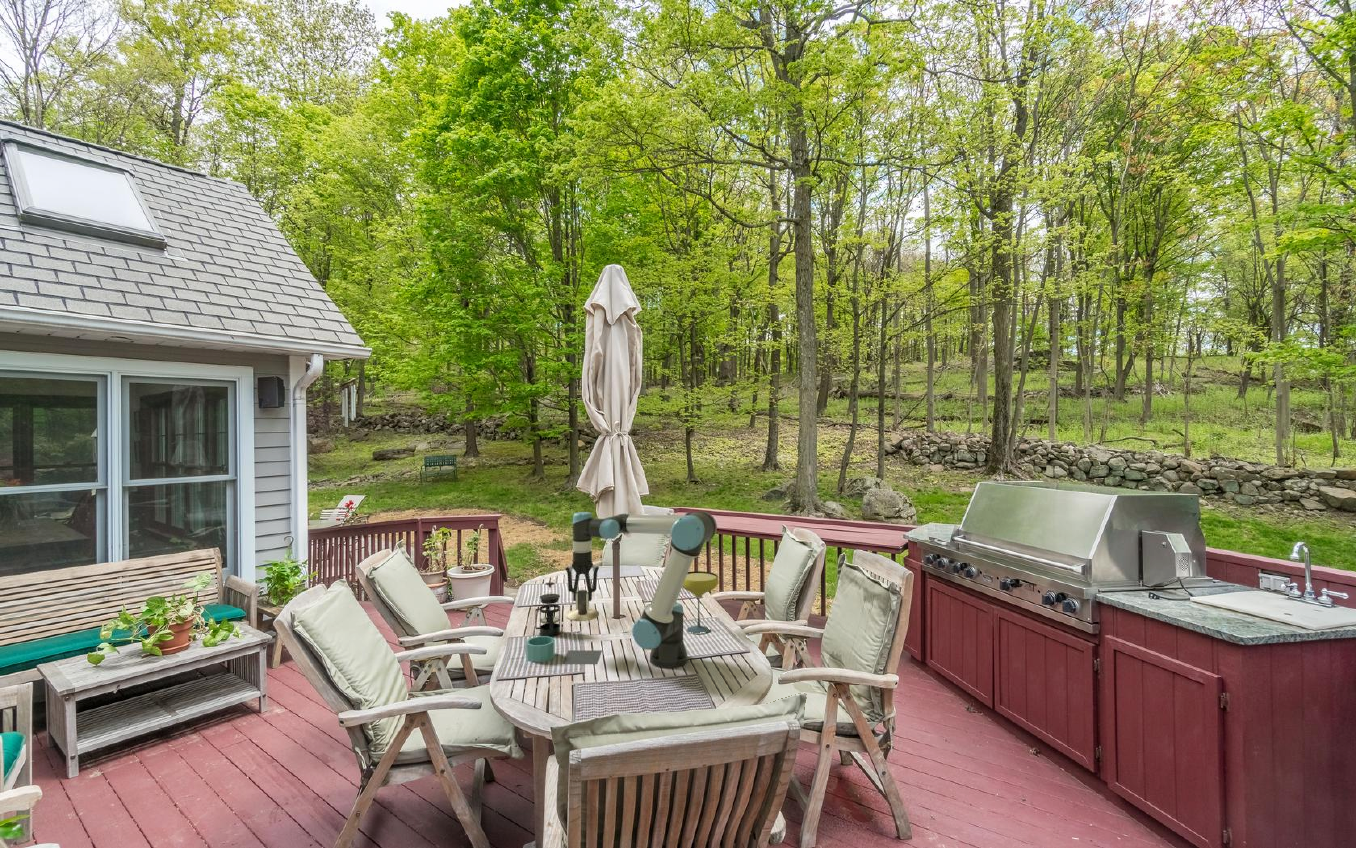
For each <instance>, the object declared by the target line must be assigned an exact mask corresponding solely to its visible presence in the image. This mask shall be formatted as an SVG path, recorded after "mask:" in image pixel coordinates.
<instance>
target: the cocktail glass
mask: <svg viewBox="0 0 1356 848" xmlns="http://www.w3.org/2000/svg"><path fill="white" fill-rule="evenodd" d="M718 585H719V576H718V574H716V573H713V572H709V571H704V570H703V571H700V570H697V571H695V570H694V571H688V573H687V576H686V578H685V581H684V583H683V586H682V588H683V589H684V590H686V591H688V592H689V593H692V594H693V595H694V596H695V597H696V599H697V624H696V625H693V626H689V627H688V628H687V629H686V631H687V632H688V633H689V632H691V633H690V634H692V632H693V633H700V632H709V629H708V628H709V627H708V626H705V625H701V621H700V619H701V617H700V599H701V598H702V597H703V595H705V594H706V593H709V592H710V591H713V590H714V589H715V588H716V587H718ZM709 633H710V632H709Z"/></svg>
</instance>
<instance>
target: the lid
mask: <svg viewBox="0 0 1356 848" xmlns="http://www.w3.org/2000/svg"><path fill="white" fill-rule="evenodd" d="M577 592H578V610H576V608H575V609H573V610H570V611H568V612H567V613H566V614H565V615H566V616H565V617H566V619H567V620H569V621H572V622H587V621H589V622H590V621H593V620H596V619H597V618H598V617H599V616H600V612H599V610H597V609H593V608H589V609H588V610H586V593H587V592H588V589H587V590H586V589H580V590H577Z"/></svg>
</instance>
